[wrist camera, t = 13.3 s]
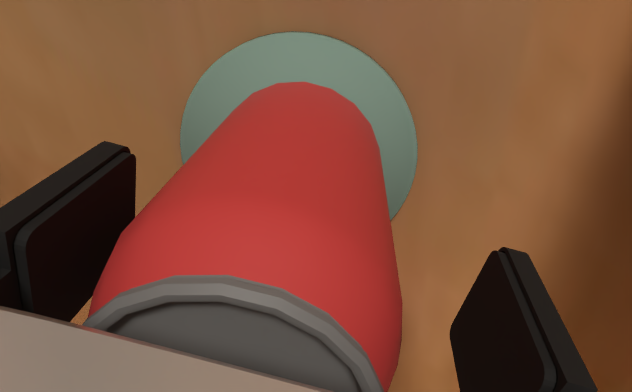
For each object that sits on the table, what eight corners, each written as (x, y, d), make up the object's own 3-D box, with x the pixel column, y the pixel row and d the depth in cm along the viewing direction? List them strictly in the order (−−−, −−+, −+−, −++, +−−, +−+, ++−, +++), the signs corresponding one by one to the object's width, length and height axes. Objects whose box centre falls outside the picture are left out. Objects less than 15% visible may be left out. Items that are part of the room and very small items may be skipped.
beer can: (309, 249, 20) (258, 556, 9) (193, 161, 19) (-25, 409, 8) (413, 152, 18) (504, 423, 7) (289, 40, 16) (159, 165, 5)
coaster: (451, 67, 17) (454, 70, 16) (376, 270, 21) (376, 278, 21) (197, 1, 16) (191, 2, 16) (176, 222, 21) (171, 228, 20)
